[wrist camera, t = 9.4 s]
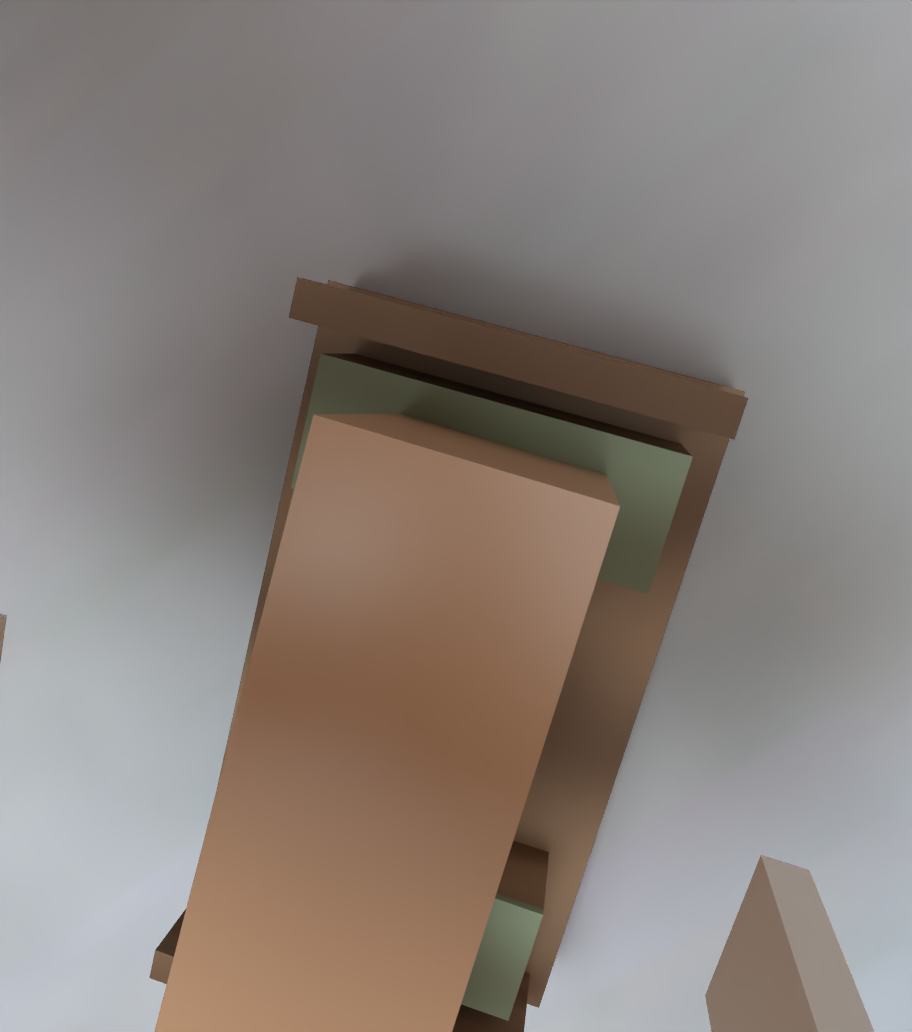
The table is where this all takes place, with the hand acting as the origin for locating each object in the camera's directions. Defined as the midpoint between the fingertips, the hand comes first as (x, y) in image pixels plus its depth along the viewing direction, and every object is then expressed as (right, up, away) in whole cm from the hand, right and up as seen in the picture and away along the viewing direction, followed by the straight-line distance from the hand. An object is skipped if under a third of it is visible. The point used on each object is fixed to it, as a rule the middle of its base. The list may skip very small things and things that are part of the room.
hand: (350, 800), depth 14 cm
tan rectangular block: (+1, 0, +5) cm, 5 cm away
